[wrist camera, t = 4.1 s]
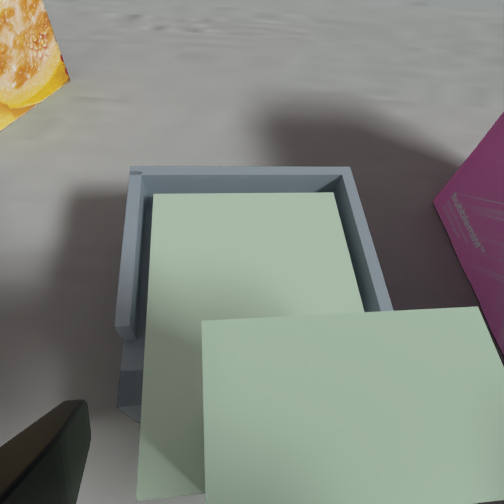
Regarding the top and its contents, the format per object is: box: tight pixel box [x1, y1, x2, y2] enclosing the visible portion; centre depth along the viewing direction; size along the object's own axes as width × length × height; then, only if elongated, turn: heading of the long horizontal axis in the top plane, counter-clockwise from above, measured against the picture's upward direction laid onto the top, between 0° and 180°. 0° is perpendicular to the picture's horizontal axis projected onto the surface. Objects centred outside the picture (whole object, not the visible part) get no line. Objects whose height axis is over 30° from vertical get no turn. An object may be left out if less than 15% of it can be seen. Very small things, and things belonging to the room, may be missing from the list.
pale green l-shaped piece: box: [136, 192, 504, 504], centre depth 11 cm, size 11×8×9 cm
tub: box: [114, 166, 394, 422], centre depth 17 cm, size 10×10×6 cm
